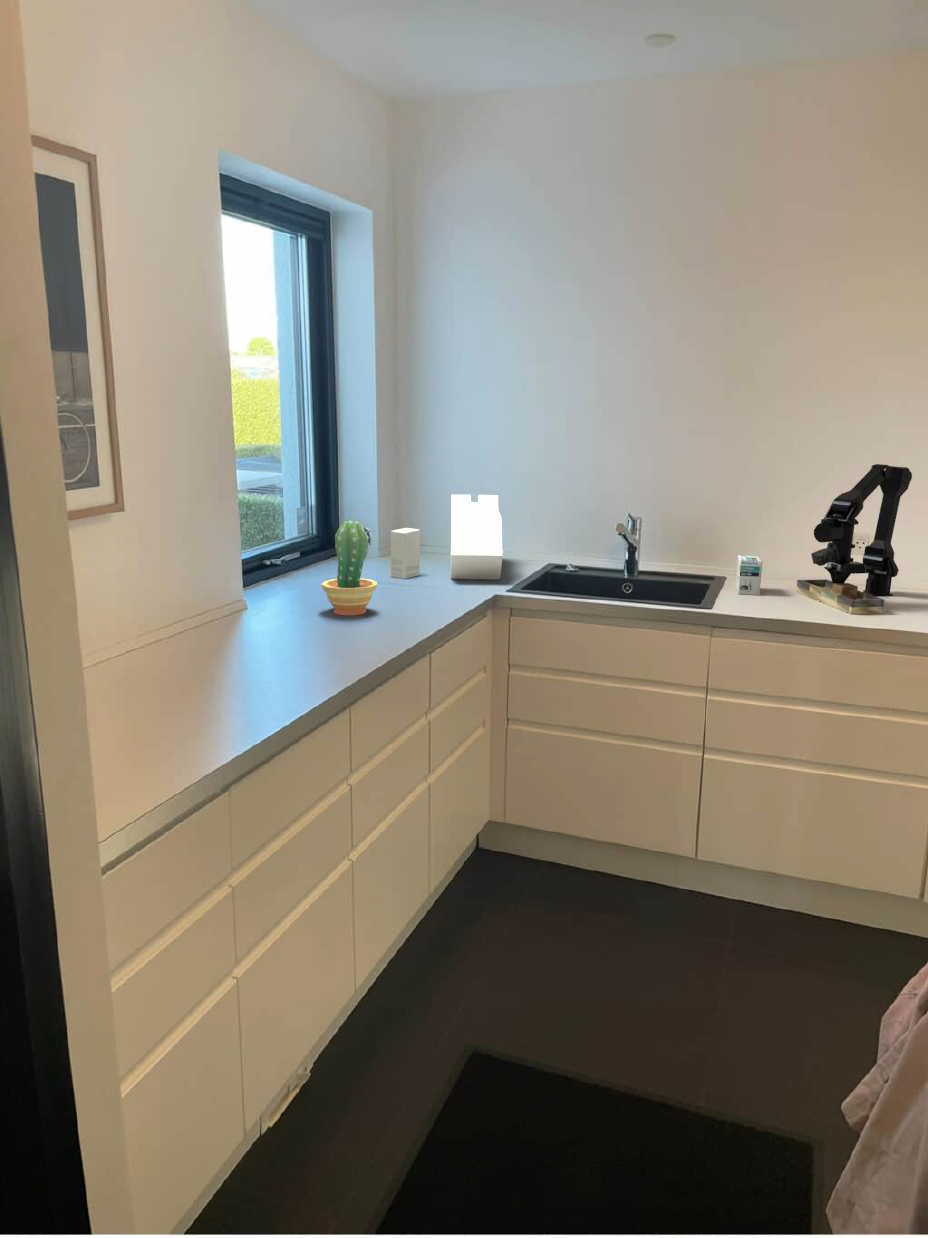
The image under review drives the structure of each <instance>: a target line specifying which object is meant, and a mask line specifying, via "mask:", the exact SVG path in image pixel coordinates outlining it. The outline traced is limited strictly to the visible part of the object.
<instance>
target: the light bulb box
mask: <svg viewBox="0 0 928 1238" xmlns="http://www.w3.org/2000/svg"><path fill="white" fill-rule="evenodd" d="M736 566H737V567H736V578H735V579H736V580H735V589H736V592H737V594H738V595H749V596H750V595H751V596H753V595H754V596H760V594H761V593H760V592H761V583H762V582H761V581H762V572H763V570H762V569H763V560H762V559H761V558H760V556H759V555H758V556H757V555H745V554H744V555H743V554H738V555H737V565H736Z"/></svg>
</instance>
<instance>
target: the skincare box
mask: <svg viewBox="0 0 928 1238" xmlns="http://www.w3.org/2000/svg"><path fill="white" fill-rule="evenodd" d="M420 535H421V530H420V529H419V528H411V527H404V528H398V529H394V530H390V577H391V578H397V579H403V580H407V579H410V578H414V577H417V576H418V577H419V576H421V575H420V573H421V571H420V567H421V565H420V561H421V557H420V556H421V555H420V553H421V551H420V549H421V548H420V545H421V544H420V543H421V539H420V538H421V536H420Z"/></svg>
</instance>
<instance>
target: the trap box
mask: <svg viewBox="0 0 928 1238" xmlns="http://www.w3.org/2000/svg"><path fill="white" fill-rule="evenodd" d="M832 586H833V584H832V580H831V579H830V580H829V579H828V578H827V579H826V578H825V579H821V578H820V579H819V578H818V579H797V580H796V592H798V593H797V594H799V593H800V594H799V595H801V594H803V595H802V596H804V595H805V596H804V597H806V596H807V598H809V599H812V600H813V601H816V600H819V601H821V602H823V603H822V604H824V603H825V604H824V605H826V604H828V605H827V606H829V605H830V607H831V606H832V607H831V608H835V609H836V608H837V610H839V611H841V610H843V611H842V612H844V611H846V612H848V613H847V614H849V613H850V614H849V615H874V614H879V613H881V614H883V613H884V607H885V600H886V599H884V598H881V597H879V596H874V595H871V594H868V593H865V592H863V591H861V590H859V589H858V590H857V598H856V600H853V599H850V598H848V597H845V596H842V595H840V594H837V593H834V592H832ZM796 592H795V593H796ZM819 601H818V602H819ZM821 602H820V603H821ZM846 612H845V613H846Z"/></svg>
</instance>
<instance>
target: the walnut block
mask: <svg viewBox="0 0 928 1238" xmlns="http://www.w3.org/2000/svg"><path fill="white" fill-rule="evenodd" d="M858 588H859V586H857V585H856V584H852V583H849V582H845V583H833V586H832V592H834V593H837V594H840V595H842V596H845V597H848V598H850V599H853V600H856V598H857V590H858V591H859V589H858Z"/></svg>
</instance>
